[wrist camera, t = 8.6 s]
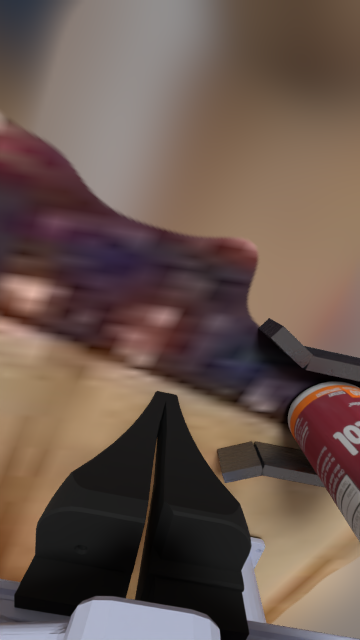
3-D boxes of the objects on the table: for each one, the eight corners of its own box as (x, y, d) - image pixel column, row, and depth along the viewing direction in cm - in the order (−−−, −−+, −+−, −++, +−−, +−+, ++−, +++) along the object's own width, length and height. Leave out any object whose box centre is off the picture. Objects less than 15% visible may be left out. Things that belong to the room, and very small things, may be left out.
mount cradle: (344, 482, 17) (369, 515, 14) (214, 456, 16) (219, 487, 14) (421, 351, 14) (469, 368, 11) (262, 316, 13) (278, 326, 11)
